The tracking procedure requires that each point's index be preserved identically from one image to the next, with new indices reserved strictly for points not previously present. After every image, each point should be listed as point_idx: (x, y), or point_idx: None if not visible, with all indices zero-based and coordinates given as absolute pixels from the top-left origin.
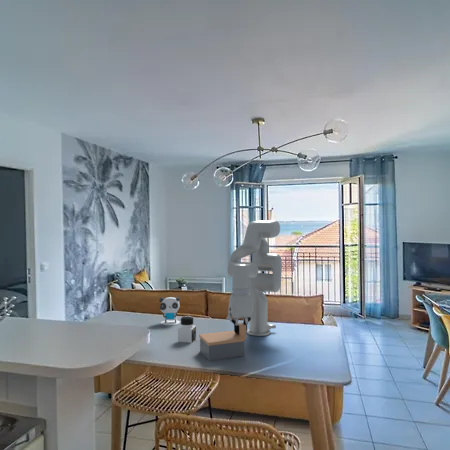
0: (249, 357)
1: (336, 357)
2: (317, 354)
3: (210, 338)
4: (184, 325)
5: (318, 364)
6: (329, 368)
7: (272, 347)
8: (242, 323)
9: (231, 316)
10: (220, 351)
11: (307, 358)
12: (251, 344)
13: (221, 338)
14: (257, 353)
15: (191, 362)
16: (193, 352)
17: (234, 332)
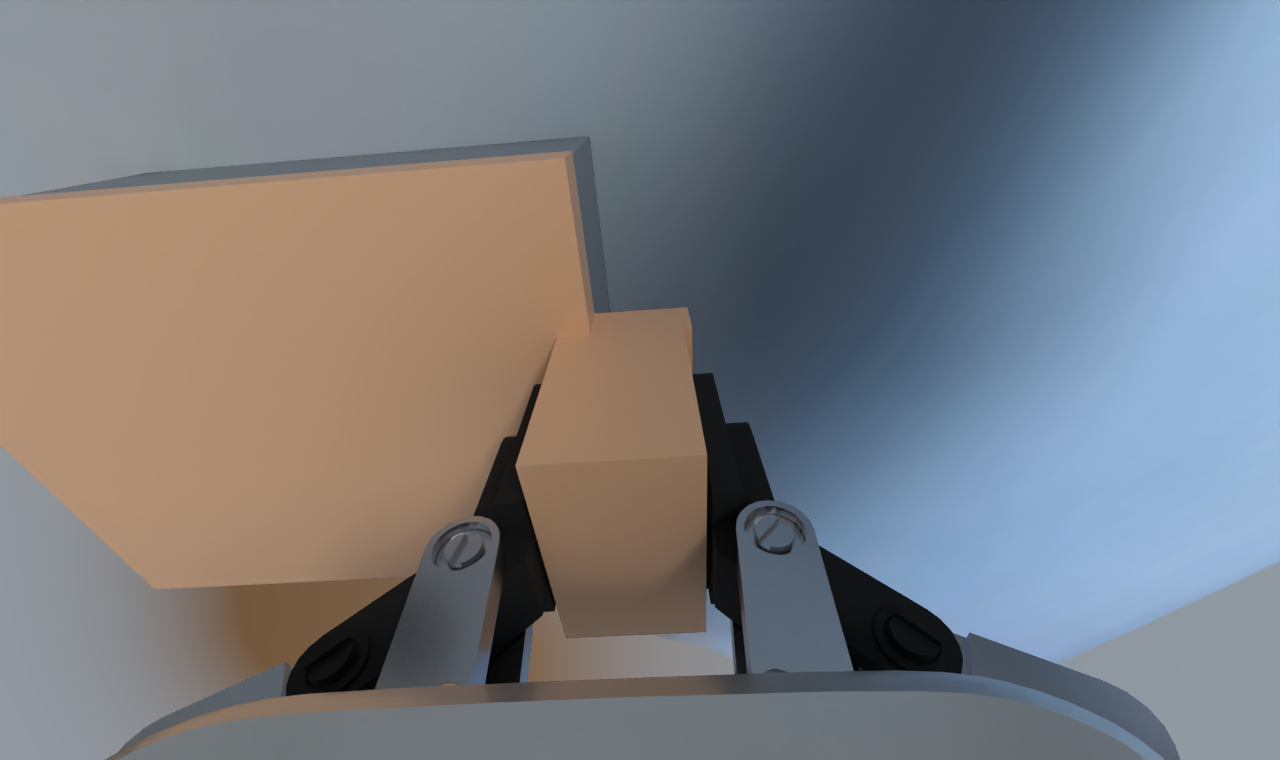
0: None
1: (1225, 563)
2: (1192, 500)
3: (130, 478)
4: None
5: (1008, 606)
6: (1004, 644)
7: (1052, 243)
8: (687, 536)
9: (260, 713)
10: None
11: (1048, 535)
12: (911, 19)
13: (303, 511)
14: (781, 361)
15: None
16: (38, 112)
17: (545, 309)
